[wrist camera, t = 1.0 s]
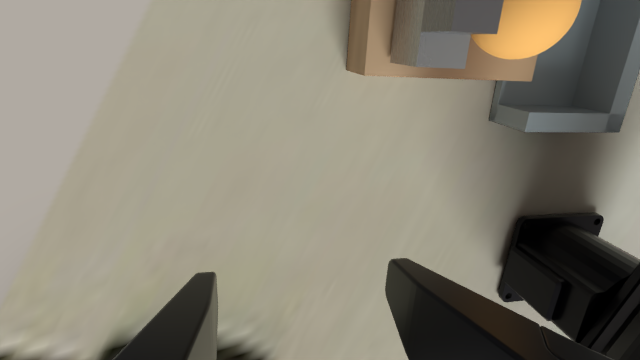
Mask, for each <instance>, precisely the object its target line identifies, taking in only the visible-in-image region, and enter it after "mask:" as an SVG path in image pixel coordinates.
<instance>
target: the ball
mask: <svg viewBox="0 0 640 360" xmlns="http://www.w3.org/2000/svg"><path fill="white" fill-rule="evenodd" d="M581 1H582V0H504V2H503V7H502V12H501V17H500V22H499V27H498V32H497V34H471V36H472V38H473V40H474V41H475V43H476V44H477V45H478V46H479V47H480V48H481V49H482V50H484V51H485V52H486V53H488V54H490V55H492V56H495V57H498V58H502V59H523V58H528V57H532V56H535V55H537V54H539V53H541V52H544V51H545V50H547V49H548V48H550V47H552V46H553V45H554V44H556V43H557V42H558V41H559V40H560V39H561V38H562V37H563V36H564V35H565V34H566V33H567V32H568V30H569V29H570V27H571V26H572V24H573V23H574V21H575V19H576V17H577V14H578V12H579V9H580V6H581Z"/></svg>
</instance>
